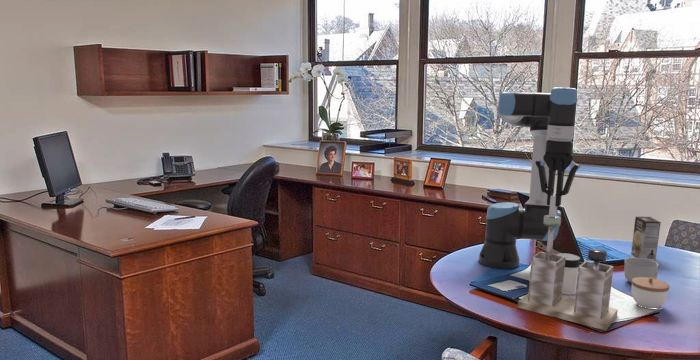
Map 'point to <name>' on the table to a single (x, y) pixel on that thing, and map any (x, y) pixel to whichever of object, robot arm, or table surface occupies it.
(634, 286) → the lidded jar
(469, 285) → the table surface
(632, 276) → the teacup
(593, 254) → the plunger
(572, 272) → the jar
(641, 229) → the coffee box
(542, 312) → the stand
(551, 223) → the plunger
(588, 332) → the table surface
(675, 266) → the table surface
